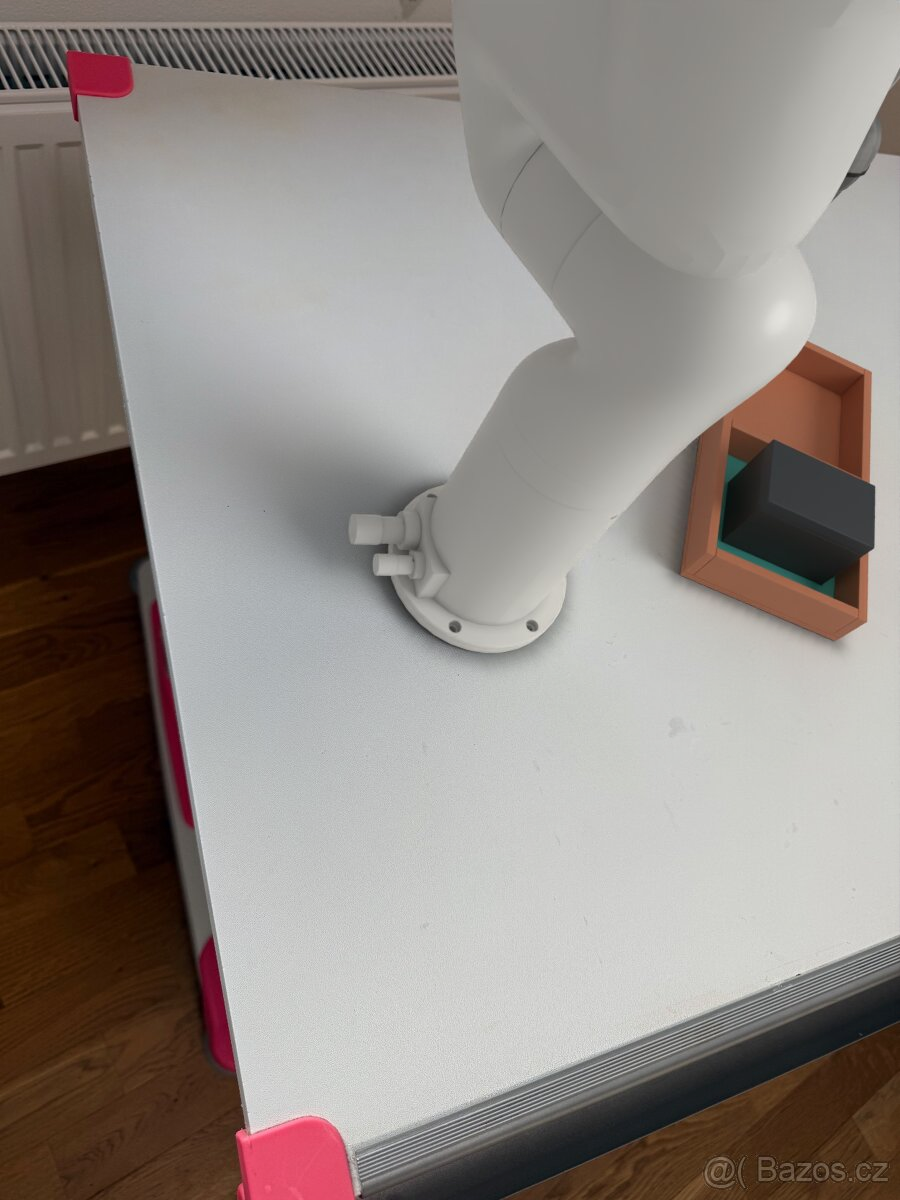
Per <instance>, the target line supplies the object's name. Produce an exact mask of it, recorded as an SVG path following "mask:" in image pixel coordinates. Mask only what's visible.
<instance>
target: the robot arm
mask: <svg viewBox="0 0 900 1200" xmlns="http://www.w3.org/2000/svg"><path fill="white" fill-rule="evenodd" d="M451 34H452V45H453V54H454V55H453V56H454V62H455V70H456V78H457V85H458V86H457V87H458V93H459V101H460V109H461V118H462V125H463V132H464V138H465V145H466V146H465V147H466V154H467V161H468V166H469V172H470V176H471V181H472V184H473V188H474V191H475V193H476V196H477V199H478V201H479V204H480V206H481V207H482V210H483V211H484V213H485V215H486V217H487V218H488V220H489V221H490V223H491V224H492V225H493V227H494V229H496V231H497V233H498V234H499V235H500V236H501V238H502V239H503V240H504V242H505V243H506V245H507V246H508V247H509V248H510V250H511V251H512V252H513V254H514V255H515V256H516V258H517V259H518V260H519V261H520V263H521V264H522V266H523V267H524V268H525V269H526V270H527V272H528V273H529V274H530V275H531V277H532V278H533V279H534V281H535V282H536V283H537V284H538V286H539V287H540V288H541V290H542V291H543V292H544V294H545V295H546V296H547V298H548V299H549V300H550V301H551V303H552V305H553V307H554V309H555V310H556V311H557V313H558V314H559V315H560V317H561V318H562V319H563V320H564V321H565V323H566V325H567V326H568V328H569V329H570V330H571V333H572V334H573V336H571V337H566V338H562V339H559V340H555V341H552V342H549V343H548V344H545V345H542V346H541V347H539V348H537V349H536V350H534V351H533V352H531V353H530V354H528V355H527V356H526V357H524V358H523V359H522V360H521V361H520V362H519V364H517V365H516V367H515V368H514V369H513V371H512V372H511V373H510V375H509V376H508V377H507V379H506V381H505V383H504V384H503V386H502V387H501V389H500V391H499V393H498V395H497V397H496V398H495V400H494V402H493V403H492V405H491V407H490V408H489V410H488V412H487V414H486V415H485V417H484V418H483V420H482V422H481V424H480V425H479V427H478V429H477V430H476V432H475V434H474V436H473V437H472V438H471V440H470V442H469V444H468V445H467V447H466V448H465V451H464V452H463V453H462V455H461V457H460V459H459V460H458V462H457V464H456V465H455V467H454V469H453V470H452V472H451V474H450V476H449V477H448V479H447V480H446V482H445V483H444V484H440V485H437V486H435V487H431V488H429V489H427V490H425V491H423V492H422V493H420V494H419V495H416V496H415V497H414V498H413V499H412V500H411V501H410V502H409V503H408V504H407V505H406V506H405V507H404V509H403V510H400V511H399V512H398V513H397V514H396V516H391V515H390V516H388V515H381V514H367V513H366V514H365V513H352V514H351V515H350V517H349V520H348V539H349V543H350V544H351V545H367V546H372V545H373V546H375V545H376V546H380V545H383V544H386V545H387V544H388V546H387V553H374V554H373V557H372V571H373V574H374V576H378V577H379V576H381V577H382V576H384V577H385V576H386V577H387V576H389V577H390V579H391V582H392V584H393V587H394V590H395V592H396V594H397V596H398V598H399V599H400V601H401V602H402V604H403V606H404V607H405V609H406V610H407V611H408V613H409V614H410V615H411V616H412V617H413V618H414V619H415V620H416V621H417V623H419V625H421V626H422V627H423V628H424V629H426V630H427V631H428V632H429V633H431V634H432V635H433V636H435V637H437V638H439V639H440V640H441V641H444V642H446V643H448V644H450V645H451V646H455V647H457V648H460V649H463V650H467V651H470V652H476V653H484V654H499V653H501V654H502V653H505V652H511V651H515V650H519V649H521V648H524V647H525V646H527V645H530V644H531V643H533V642H534V641H536V640H537V639H538V638H539V637H540V636H542V635H543V634H544V633H545V632H546V631H547V630H548V629H549V628H550V627H551V626H552V624H554V622H555V620H556V619H557V617H558V616H559V614H560V613H561V610H562V607H563V604H564V600H565V598H566V591H567V584H568V583H567V581H568V580H567V574H568V573H570V571H571V570H572V569H573V568H574V567H575V565H576V564H577V563H578V562H579V561H580V560H581V559H582V558H583V557H584V556H585V555H586V554H587V552H588V551H589V550H590V549H591V548H592V547H593V546H594V545H595V544H596V543H597V541H599V539H600V538H601V537H603V535H604V534H605V533H606V532H607V531H608V530H609V528H611V527H612V525H613V524H614V523H615V522H616V521H617V520H618V519H619V518H620V516H621V515H623V514H624V512H625V511H626V510H627V509H628V508H629V507H630V506H631V505H632V503H634V501H636V499H637V498H638V497H639V496H640V495H641V494H642V493H643V492H644V491H645V490H646V489H647V487H648V486H649V485H650V484H651V483H652V482H653V481H654V480H655V479H656V477H657V476H659V474H660V473H661V472H662V471H663V470H665V469H666V468H667V466H668V465H669V464H670V463H671V462H672V461H673V460H674V459H675V458H676V457H677V456H678V455H680V453H681V452H683V451H684V449H686V448H687V447H688V446H689V445H690V444H691V443H692V442H693V441H695V440H696V439H697V438H698V437H700V435H701V434H702V433H703V432H704V431H705V430H707V429H708V428H709V427H710V426H711V425H713V424H714V423H715V422H717V421H718V420H719V419H721V418H722V417H723V416H725V415H726V414H727V413H729V412H730V411H731V410H733V409H734V408H736V407H737V406H738V405H740V404H741V403H742V402H744V401H745V400H747V399H748V398H749V397H751V396H752V395H753V394H755V393H756V392H757V391H759V390H760V389H762V388H763V387H764V386H765V385H767V384H768V383H769V382H770V381H771V380H772V379H774V378H775V377H776V376H777V375H778V374H779V373H781V372H782V371H783V370H784V369H785V368H786V367H787V366H788V365H789V364H790V362H791V361H792V360H793V359H794V358H795V357H796V356H797V355H798V354H799V352H800V351H801V349H802V348H803V346H804V345H805V343H806V342H807V341H809V338H810V336H811V335H812V332H813V330H814V326H815V324H816V323H815V322H816V318H817V312H818V311H817V310H818V306H817V305H818V304H817V303H818V302H817V301H818V299H817V292H816V286H815V282H814V279H813V275H812V272H811V270H810V267H809V265H808V263H807V261H806V259H805V256H804V255H803V253H802V252H801V250H800V248H799V246H798V245H799V243H801V242H802V240H803V239H804V238H805V237H806V236H807V235H808V234H809V233H810V231H811V230H812V228H814V226H815V225H816V223H817V222H818V220H819V219H820V218H821V217H822V216H823V214H824V213H825V211H826V210H827V208H828V207H829V206H830V205H831V203H832V202H833V201H834V200H833V198H834V196H835V194H836V193H837V191H838V189H839V187H840V186H841V184H842V182H843V180H844V178H845V176H846V174H847V172H848V170H849V168H850V166H851V164H852V162H853V160H854V158H855V156H856V154H857V152H858V150H859V148H860V146H861V144H862V142H863V140H864V138H865V136H866V134H867V132H868V130H869V129H870V127H871V125H872V123H873V121H874V119H875V117H876V115H877V113H878V112H879V110H880V109H881V106H882V104H883V103H884V101H885V99H886V96H887V95H888V92H889V91H890V90H889V88H890V86H891V84H892V82H893V80H894V78H895V76H896V74H897V72H898V70H899V69H900V0H451ZM888 90H889V91H888ZM878 114H879V113H878ZM832 200H833V201H832ZM831 201H832V202H831Z"/></svg>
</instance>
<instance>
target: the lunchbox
mask: <svg viewBox="0 0 900 1200" xmlns="http://www.w3.org/2000/svg"><path fill="white" fill-rule="evenodd" d="M875 541H876V485H875V484H872V483H871V482H870V483H868V482H866V481H864V480H861V479H859V478H857V477H855V476H853V475H851V474H848V473H846V472H844V471H842V470H840V469H838V468H835V467H833V466H831V465H829V464H827V463H825V462H822V461H820V460H818V459H816V458H814V457H812V456H809V455H807V454H805V453H803V452H801V451H799V450H796V449H794V448H792V447H790V446H788V445H786V444H783V443H781V442H779V441H777V440H775V439H773V440H772V441H771V442H770V443H769V444H768V445H767V446H766V447H765V448H764V449H762V450H761V451H760V452H759V453H758V454H757V455H756V456H755V457H754V458H753V459H752V460H751V461H750V462H749V463H748V464H747V465H746V466H745V467H744V468H743V469H742V470H740V471H739V472H738V473H737V474H736V475H735V476H734V477H733V478H732V479H731V480H730V481H729V482H728V488H727V496H726V504H725V513H724V521H723V529H722V538H721V542H723V543H726V544H728V545H730V546H733V547H735V548H737V549H739V550H742V551H744V552H746V553H749V554H751V555H753V556H756V557H758V558H760V559H762V560H765V561H767V562H769V563H772V564H774V565H776V566H778V567H781V568H783V569H785V570H788V571H790V572H792V573H794V574H797V575H799V576H801V577H804V578H806V579H808V580H810V581H813V582H815V583H817V584H820V585H823V584H824V583H826V582H827V581H828V580H830V579H831V578H833V577H834V576H836V575H837V574H838V573H840V572H841V571H843V570H844V569H846V568H847V567H848V566H850V565H851V564H853V563H854V562H856V561H857V560H858V559H860V558H861V557H863V555H866V554H867V553H868V552H869V553H870V552H871V551H873V550H874V549H875V547H876V546H875V545H876V543H875Z"/></svg>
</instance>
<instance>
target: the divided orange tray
mask: <svg viewBox="0 0 900 1200" xmlns="http://www.w3.org/2000/svg"><path fill="white" fill-rule="evenodd" d="M872 380H873V372H872V371H871V370H869V369H867V368H865V367H863V366H860V365H859V364H857V363H854V362H852V361H850V360H848V359H846V358H844V357H842V356H840V355H837V354H836V353H833V352H832V351H830V350H827V349H825V348H823V347H821V346H820V345H816V344H815V343H813V342H811V341H809V340H807V342H806V343H805V345H804V346H803V348H802V349H801V351H800V352H799V354H798V355H797V356H796V357H795V358H794V359H793V360H792V361H791V362H790V364H789V365H788V366H787V367H786V368H785V369H784V370H783V371H782V372H781V373H779V374H778V375H777V376H776V377H775V378H774V379H772V380H771V381H770V382H769V383H768V384H767V385H765V386H764V387H763V388H762V389H760V390H759V391H757V392H756V393H755V394H753V395H752V396H751V397H749V398H748V399H747V400H745V401H744V402H742V403H741V404H740V405H738V406H737V407H736V408H734V409H733V410H731V411H730V412H729V413H727V414H726V415H725V416H723V417H722V418H721V419H719V420H718V421H717V422H715V423H714V424H713V425H711V426H710V427H709V428H708V429H707V430H705V431H704V432H703V433H702V434H701V435H699V440H698V448H697V454H696V461H695V467H694V475H693V482H692V487H691V488H692V489H691V496H690V503H689V510H688V516H687V524H686V529H685V530H686V531H685V538H684V545H683V552H682V559H681V565H680V573H679V575H680V576H681V577H683V578H686V579H689V580H691V581H693V582H695V583H698V584H700V585H703V586H704V587H706V588H707V587H708V588H710V589H712V590H714V591H717V592H718V593H722V594H724V595H726V596H728V597H731V598H733V599H736V600H738V601H740V602H742V603H745V604H747V605H749V606H751V607H754V608H756V609H758V610H761V611H763V612H765V613H768V614H770V615H773V616H775V617H777V618H780V619H782V620H784V621H787V622H789V623H791V624H794V625H796V626H799V627H801V628H803V629H806V630H807V631H810V632H813V633H815V634H818V635H820V636H822V637H824V638H826V639H829V640H832V641H834V642H837V641H838V640H840V639H841V638H844V637H845V636H847V635H848V634H850V633H852V632H853V631H854V630H856V629H858V628H860V627H861V626H863V625H864V624H866V623H868V610H869V608H868V607H869V606H868V605H869V603H868V602H869V556H870V555H869V554H870V552H868V553H867V554H866V555H863V557H861V558H860V559H858V560H857V561H856V562H854V563H853V564H851V565H850V566H848V567H847V568H846V569H844V570H843V571H841V572H840V573H838V574H837V575H836V576H834V577H833V578H831V579H830V580H828V581H827V582H826V583H824V584H823V585H820V584H817V583H815V582H813V581H810V580H808V579H806V578H804V577H801V576H799V575H797V574H794V573H792V572H790V571H788V570H785V569H783V568H781V567H778V566H776V565H774V564H772V563H769V562H767V561H765V560H762V559H760V558H758V557H756V556H753V555H751V554H749V553H746V552H744V551H742V550H739V549H737V548H735V547H733V546H730V545H728V544H726V543H723V542H721V538H722V529H723V521H724V513H725V504H726V496H727V488H728V482H729V481H730V480H731V479H732V478H733V477H734V476H735V475H736V474H737V473H738V472H739V471H740V470H742V469H743V468H744V467H745V466H746V465H747V464H748V463H749V462H750V461H751V460H752V459H753V458H754V457H755V456H756V455H757V454H758V453H759V452H760V451H761V450H762V449H764V448H765V447H766V446H767V445H768V444H769V443H770V442H771V441H772V440H773V439H775V440H777V441H779V442H781V443H783V444H786V445H788V446H790V447H792V448H794V449H796V450H799V451H801V452H803V453H805V454H807V455H809V456H812V457H814V458H816V459H818V460H820V461H822V462H825V463H827V464H829V465H831V466H833V467H835V468H838V469H840V470H842V471H844V472H846V473H848V474H851V475H853V476H855V477H857V478H859V479H861V480H864V481H866V482H868V483H870V484H871V447H872V446H871V445H872V444H871V443H872V442H871V441H872V440H871V438H872V436H871V435H872V392H873V391H872V390H873V389H872V386H873V385H872V383H873V381H872Z"/></svg>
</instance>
